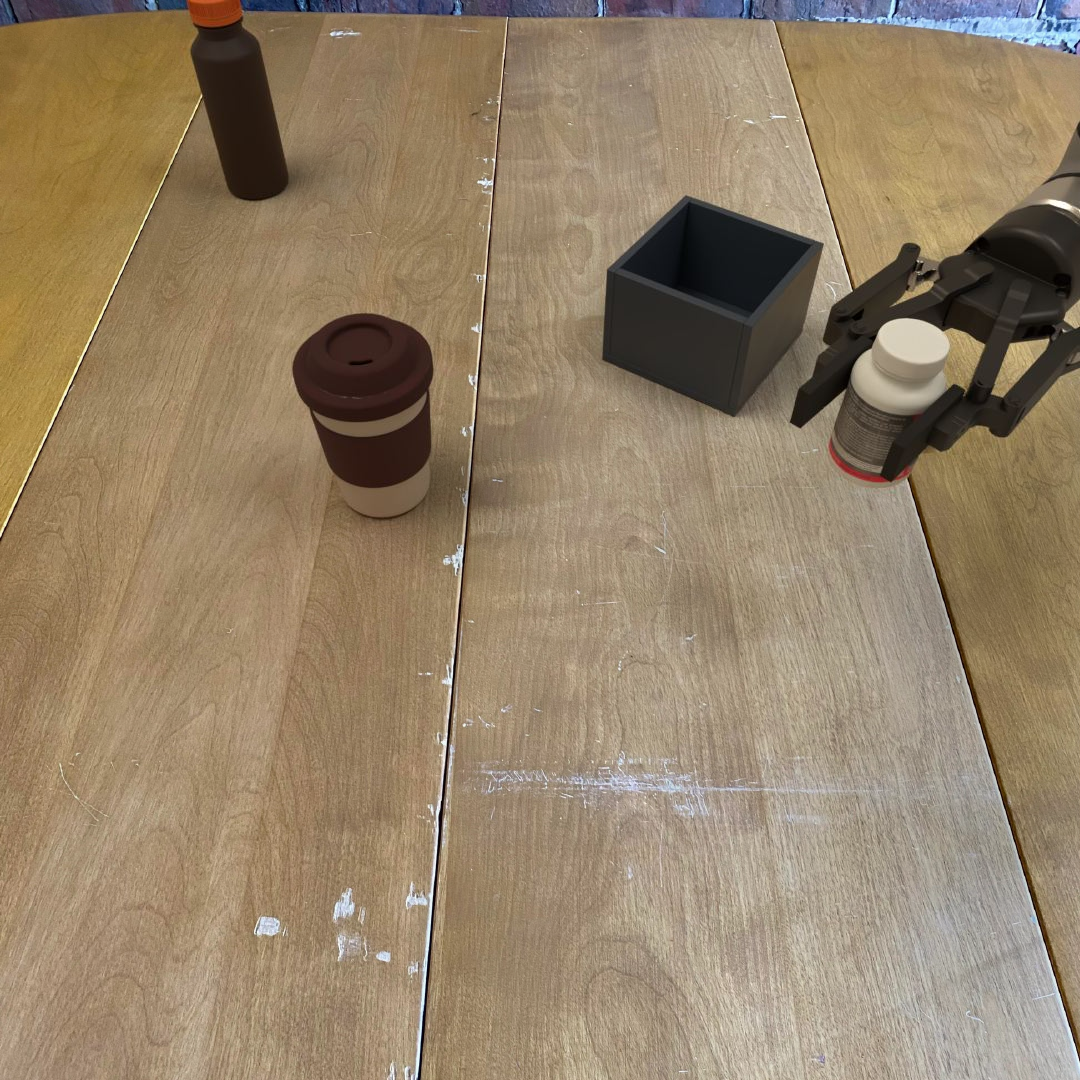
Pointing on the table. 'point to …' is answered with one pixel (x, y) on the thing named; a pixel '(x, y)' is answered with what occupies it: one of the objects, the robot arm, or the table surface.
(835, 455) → the pill bottle
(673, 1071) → the table surface
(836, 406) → the table surface
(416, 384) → the coffee cup
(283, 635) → the table surface
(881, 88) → the table surface
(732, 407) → the waste bin
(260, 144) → the brown water bottle
